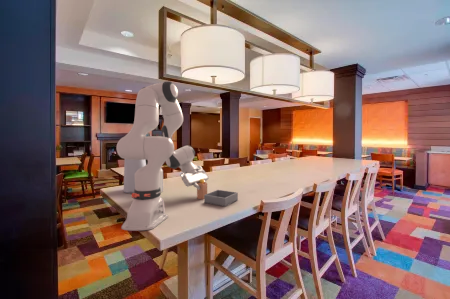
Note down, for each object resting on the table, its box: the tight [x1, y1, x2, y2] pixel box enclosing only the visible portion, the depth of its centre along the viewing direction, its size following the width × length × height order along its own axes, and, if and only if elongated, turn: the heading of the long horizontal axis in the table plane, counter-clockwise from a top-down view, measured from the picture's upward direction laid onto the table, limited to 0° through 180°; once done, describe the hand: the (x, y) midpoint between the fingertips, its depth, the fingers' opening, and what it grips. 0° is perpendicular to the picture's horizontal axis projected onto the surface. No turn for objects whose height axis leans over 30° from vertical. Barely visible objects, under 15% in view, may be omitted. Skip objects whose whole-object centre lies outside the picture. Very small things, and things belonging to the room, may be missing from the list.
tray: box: [203, 189, 239, 207], centre depth 136 cm, size 14×14×5 cm
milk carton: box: [159, 168, 164, 193], centre depth 158 cm, size 7×7×19 cm
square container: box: [196, 181, 208, 200], centre depth 143 cm, size 4×4×10 cm
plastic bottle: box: [123, 159, 147, 194], centre depth 163 cm, size 15×15×28 cm
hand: (203, 188), depth 143 cm, fingers closed on square container, 4 cm apart
